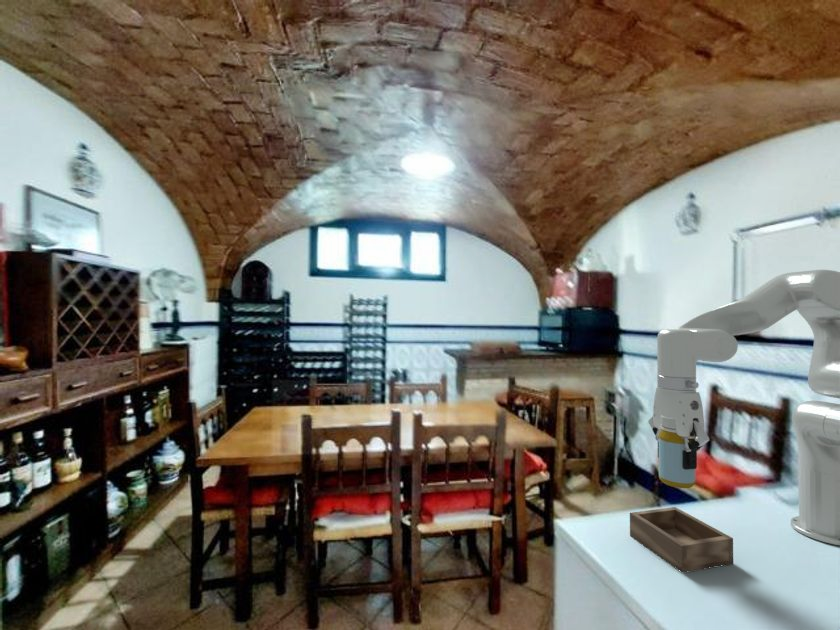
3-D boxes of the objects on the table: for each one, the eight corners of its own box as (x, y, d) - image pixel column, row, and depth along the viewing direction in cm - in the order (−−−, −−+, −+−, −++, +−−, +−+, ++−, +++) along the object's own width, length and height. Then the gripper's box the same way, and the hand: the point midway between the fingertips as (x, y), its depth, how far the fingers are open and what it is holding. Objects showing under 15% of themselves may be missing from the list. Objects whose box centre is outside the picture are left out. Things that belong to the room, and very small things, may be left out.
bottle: (701, 490, 90) (700, 420, 90) (665, 487, 91) (665, 419, 91) (687, 478, 97) (686, 413, 97) (654, 476, 98) (653, 412, 98)
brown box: (675, 529, 103) (675, 506, 103) (733, 564, 88) (733, 538, 88) (629, 535, 100) (629, 512, 100) (682, 572, 85) (681, 546, 85)
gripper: (725, 389, 87) (725, 476, 86) (660, 378, 103) (660, 450, 103) (695, 390, 85) (695, 479, 85) (634, 378, 102) (634, 452, 102)
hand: (676, 462), depth 94 cm, fingers closed on bottle, 6 cm apart
